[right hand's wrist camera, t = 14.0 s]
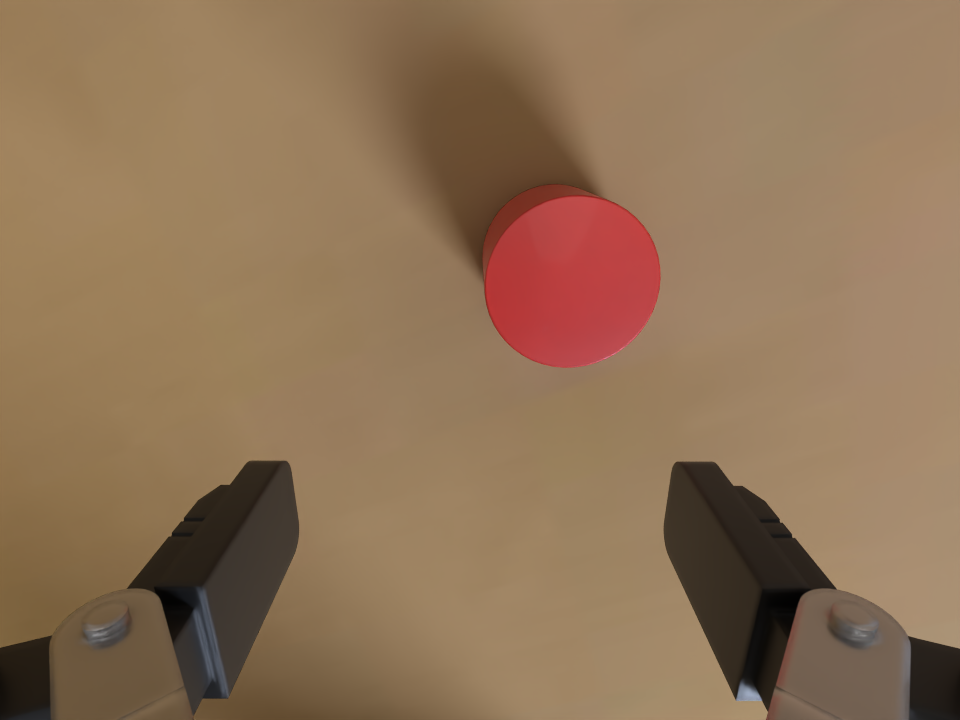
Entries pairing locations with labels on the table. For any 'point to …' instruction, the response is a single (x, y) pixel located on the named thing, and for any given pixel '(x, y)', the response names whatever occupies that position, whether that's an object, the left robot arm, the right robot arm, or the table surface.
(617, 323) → the red solid cylinder
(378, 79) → the table surface
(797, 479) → the table surface
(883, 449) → the table surface
